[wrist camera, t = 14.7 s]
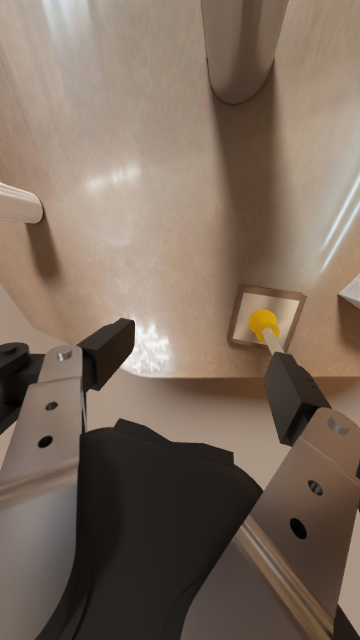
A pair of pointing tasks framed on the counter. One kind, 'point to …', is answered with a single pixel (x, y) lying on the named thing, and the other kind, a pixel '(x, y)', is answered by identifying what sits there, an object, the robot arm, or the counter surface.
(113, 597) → the robot arm
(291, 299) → the walnut picture frame
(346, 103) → the counter surface
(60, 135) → the counter surface
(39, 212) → the cup
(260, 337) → the candle
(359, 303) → the small box
